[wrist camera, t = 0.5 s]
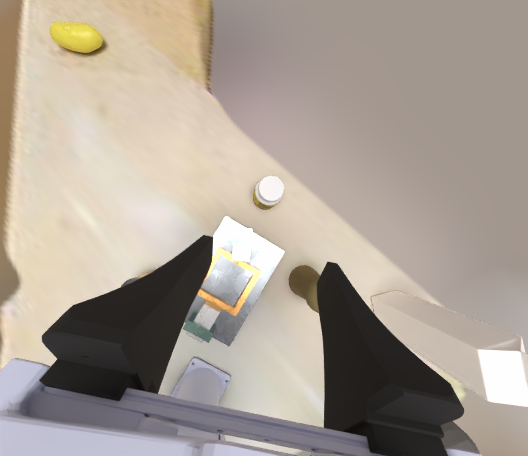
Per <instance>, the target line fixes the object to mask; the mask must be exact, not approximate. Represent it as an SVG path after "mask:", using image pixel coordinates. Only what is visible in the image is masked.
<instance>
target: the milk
mask: <svg viewBox="0 0 528 456" xmlns="http://www.w3.org/2000/svg"><path fill="white" fill-rule="evenodd" d="M371 300H372V305H373V310H374V314H375V315H376V317H377V318H378V319H379V320H380V321H381V322H382V323H383V324H384V325H385V326H386V328H387V329H388V330H389V331H390V332H391V333H392V334H393V335H394V336H395V337H396V338H397V339H398V340H399V341H401V342H402V343H403V344H405V345H406V346H408V347H409V348H411V349H412V350H414V351H415V352H417V353H418V354H420V355H421V356H422V357H424V358H425V359H427V360H428V361H430V362H431V363H433V364H434V365H436V366H437V367H439V368H440V369H441V370H443V371H444V372H446V373H447V374H449V375H450V376H452V377H453V378H455V379H456V380H458V381H459V382H460V383H462V384H463V385H465V386H466V387H468V388H469V389H471V390H472V391H474V392H475V393H477V394H478V395H480V396H481V397H483V398H484V399H485V400H487V401H489V402H495V403H502V404H510V405H519V406H526V407H528V354H526V353H525V349H524V345H523V340H522V337H521V336H520V335H516V334H514V333H511V332H509V331H506V330H503V329H500V328H498V327H495V326H492V325H490V324H487V323H484V322H482V321H479V320H476V319H473V318H471V317H468V316H465V315H463V314H460V313H457V312H454V311H452V310H449V309H446V308H444V307H441V306H438V305H435V304H433V303H430V302H427V301H425V300H422V299H419V298H417V297H414V296H411V295H408V294H406V293H403V292H400V291H397V290H396V291H392V292H388V293H384V294H380V295H376V296H372V297H371Z"/></svg>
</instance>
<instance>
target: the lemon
mask: <svg viewBox="0 0 528 456" xmlns="http://www.w3.org/2000/svg"><path fill="white" fill-rule="evenodd" d="M50 35H51V37H52V39H53V40H54V41H55V42H56V43H57V44H58V45H60V46H62V47H64V48H67V49H69V50H72V51H76V52H82V53H90V52H92V51H94V50H96V49H98V48H100V47H101V45H102V43H103V38H102V36H101V35H100V33H99V32H98V31H97V30H96V29H95V28H93V27H92V26H90V25H88V24H83V23H74V22H54V23H52V25H51V27H50Z"/></svg>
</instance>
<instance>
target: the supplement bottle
mask: <svg viewBox="0 0 528 456" xmlns="http://www.w3.org/2000/svg"><path fill="white" fill-rule="evenodd" d="M283 192H284V185H283V183H282V181H281V180H280V179H279V178H278V177H275V176H267V177H265V178H263V179H262V180H260V181H259V182H258V183H257V185H256V188H255V191H254V194H253V200H254V203H255V204H256V206H257V207H259V208H261V209H270V208H272V207H273V206H275V205H276V204H277V203H278V202H279V201H280V200H281V199H282V197H283Z"/></svg>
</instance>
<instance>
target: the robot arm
mask: <svg viewBox="0 0 528 456" xmlns="http://www.w3.org/2000/svg"><path fill="white" fill-rule="evenodd" d="M212 259H213V237H210V236H206V235H203V236H202V237H200V238H199V239H198V240H197V241H196V242H194V243H193V244H192V245H191V246H189V247H188V248H187V249H186V250H184V251H183V252H182V253H180V254H179V255H178V256H176V257H175V258H173V259H172V260H170V261H169V262H167V263H166V264H164V265H163V266H161V267H160V268H158V269H156V270H155V271H153V272H151V273H149V274H147V275H146V276H144V277H142V278H140V279H138V280H136V281H134V282H132V283H130V284H128V285H125V286H123V287H121V288H118V289H116V290H114V291H111V292H109V293H106V294H104V295H101V296H98V297H95V298H93V299H90V300H87V301H84V302H81V303H78V304H75V305H73V306H72V307H71V308H70V309H68V310H67V311H66V312H65V313H64V314H63V315H62V316H61V317H60V318H59V319H58V320H57V321H56V322H55V323H54V324H53V325H52V326H51V327H50V328H49V329H48V330H47V331H46V332H45V333H44V334H43V335H42V342H43V343H44V345H45V346H46V347H47V348H48V349H49V350H50V351H51V352H52V353H53V354H54V356H55V357H56V358H57V360H56V361H55V363H54V364H53V365H52V366H51V367H50V366H48V365H46V364H43V363H39V362H34V361H29V360H24V359H19V358H15V359H12V360H11V361H10V362H9V363H8V364H7V365H6V366H5V367H4V368H3V369H2V370H1V371H0V456H297V455H293V454H288V453H283V452H278V451H273V450H268V449H263V448H258V447H253V446H248V445H243V444H238V443H233V442H227V441H226V440H225V437H224V434H225V435H230V436H235V437H240V438H245V439H250V440H255V441H260V442H265V443H270V444H275V445H280V446H285V447H289V448H294V449H299V450H304V451H309V452H314V453H311V455H310V456H482V455H481V454H480V453H478V452H473V451H468V450H463V449H458V448H452V447H444V445H443V443H442V440H441V438H444V433H443V431H442V428H441V426H440V425H442V424H445V423H448V422H451V421H453V420H456V419H458V418H460V417H461V416H462V415H463V413H464V408H463V406H462V405H461V403H460V401H459V399H458V397H457V395H456V393H455V392H454V390H453V388H452V386H451V384H450V383H449V382H447V381H446V380H445V379H444V378H443V377H441V376H440V375H439V374H438V373H436V372H435V371H434V370H433V369H431V368H430V367H429V366H428V365H426V364H425V363H424V362H423V361H422V360H420V359H419V358H418V357H417V356H416V355H415V354H414V353H412V352H411V351H410V350H409V349H408V348H407V347H406V346H405V345H404V344H403V343H402V342H400V341H399V340H398V339H397V338H396V337H395V336H394V335H393V334H392V333H391V332H390V331H389V330H388V329H387V328H386V326H385V325H384V324H383V323H382V322H381V321H380V320H379V319H378V318H377V317H376V315H375V314H374V313H373V312H372V311H371V310H370V308H369V307H368V306H367V305H366V303H365V302H364V301H363V300H362V298H361V297H360V296H359V294H358V293H357V291H356V290H355V289H354V287H353V286H352V284H351V283H350V281H349V280H348V279H347V277H346V276H345V274H344V273H343V271H342V270H341V268H340V267H339V265H338V264H337V263H332V262H327V264H326V266H325V268H324V270H323V272H322V274H321V276H320V278H319V280H318V282H317V302H318V309H319V316H320V322H321V329H322V336H323V350H324V382H325V402H324V428H321V427H316V426H312V425H307V424H302V423H297V422H292V421H287V420H282V419H277V418H272V417H268V416H263V415H258V414H253V413H248V412H243V411H238V410H233V409H228V408H223V407H219V401H220V397H221V396H222V394H223V392H224V390H225V389H226V387H227V385H228V383H229V382H230V380H231V376H230V375H228V374H226V373H224V372H223V371H221V370H219V369H217V368H215V367H213V366H211V365H209V364H208V363H206V362H204V361H202V360H200V359H198V358H196V357H194V358H193V359H192V361H191V362H190V364H189V366H188V368H187V369H186V371H185V373H184V374H183V376H182V378H181V379H180V381H179V383H178V384H177V386H176V388H175V389H174V391H173V393H172V394H171V396H165V395H160V394H158V392H159V389H160V386H161V383H162V380H163V377H164V374H165V371H166V369H167V366H168V363H169V360H170V358H171V355H172V352H173V349H174V347H175V344H176V341H177V339H178V336H179V334H180V331H181V329H182V326H183V324H184V321H185V319H186V316H187V314H188V312H189V309H190V307H191V305H192V303H193V301H194V300H195V298H196V296H197V294H198V292H199V290H200V288H201V286H202V284H203V282H204V280H205V278H206V276H207V274H208V271H209V269H210V266H211V263H212ZM193 362H194V363H195V364H193ZM226 380H228V381H226ZM218 433H219V434H218Z"/></svg>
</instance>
